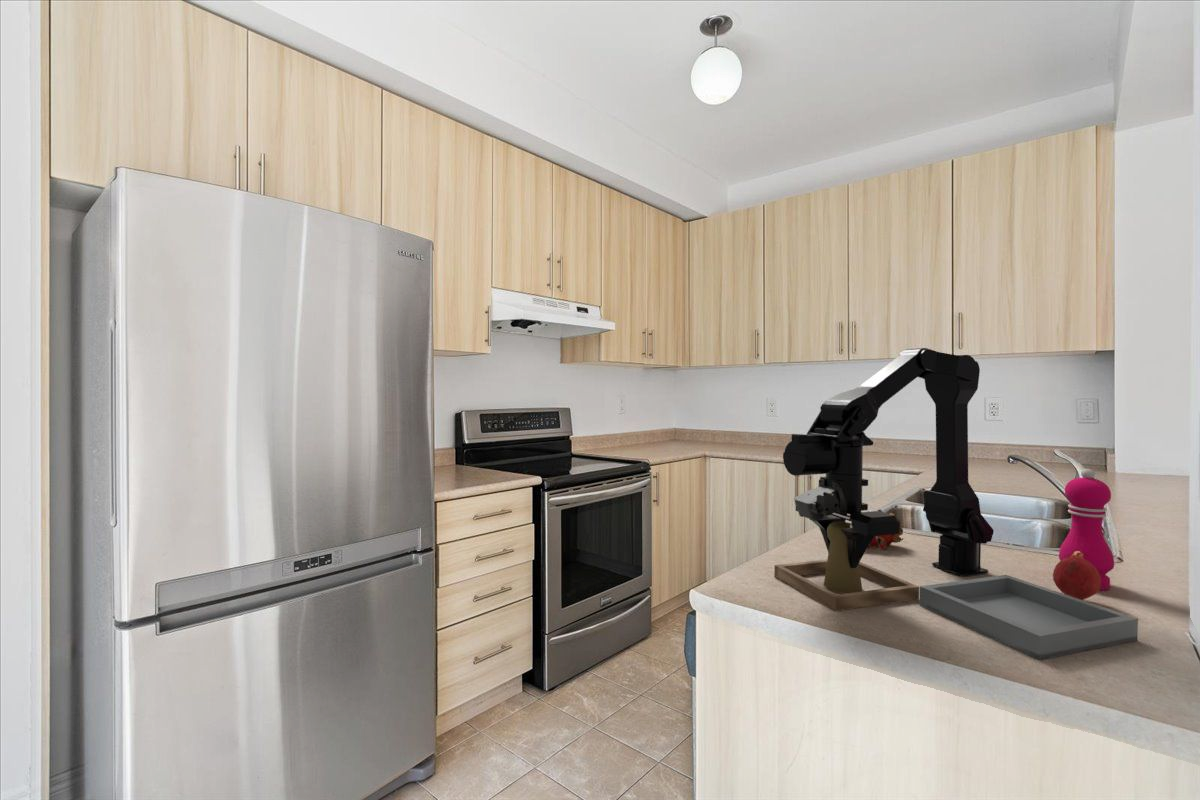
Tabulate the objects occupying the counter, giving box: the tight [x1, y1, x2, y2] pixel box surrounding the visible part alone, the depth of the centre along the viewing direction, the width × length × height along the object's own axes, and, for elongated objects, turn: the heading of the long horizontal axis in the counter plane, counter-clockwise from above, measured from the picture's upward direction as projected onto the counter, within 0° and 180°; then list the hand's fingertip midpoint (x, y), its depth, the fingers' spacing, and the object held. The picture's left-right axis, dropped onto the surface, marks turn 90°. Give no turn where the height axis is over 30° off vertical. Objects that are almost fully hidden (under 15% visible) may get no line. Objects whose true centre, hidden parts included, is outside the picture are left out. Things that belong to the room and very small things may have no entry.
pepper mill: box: [1058, 468, 1115, 591], centre depth 96 cm, size 7×7×20 cm
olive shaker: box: [823, 521, 863, 594], centre depth 95 cm, size 6×6×11 cm
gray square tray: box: [919, 574, 1139, 661], centre depth 81 cm, size 18×18×3 cm
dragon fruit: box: [867, 509, 904, 551], centre depth 118 cm, size 8×8×12 cm
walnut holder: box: [774, 558, 920, 612], centre depth 95 cm, size 16×16×2 cm
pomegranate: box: [1052, 551, 1101, 601], centre depth 88 cm, size 6×6×8 cm
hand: (842, 563), depth 95 cm, fingers closed on olive shaker, 4 cm apart
